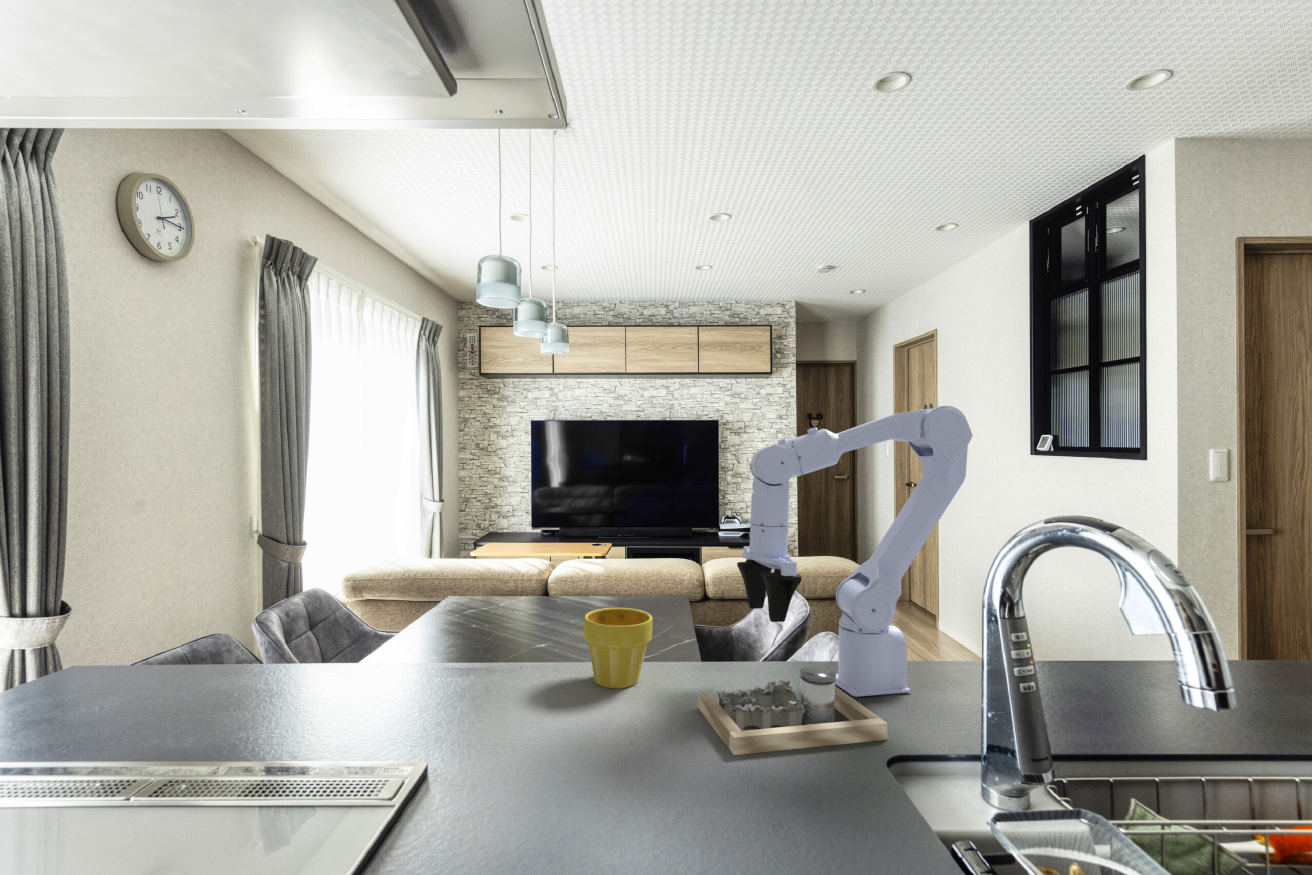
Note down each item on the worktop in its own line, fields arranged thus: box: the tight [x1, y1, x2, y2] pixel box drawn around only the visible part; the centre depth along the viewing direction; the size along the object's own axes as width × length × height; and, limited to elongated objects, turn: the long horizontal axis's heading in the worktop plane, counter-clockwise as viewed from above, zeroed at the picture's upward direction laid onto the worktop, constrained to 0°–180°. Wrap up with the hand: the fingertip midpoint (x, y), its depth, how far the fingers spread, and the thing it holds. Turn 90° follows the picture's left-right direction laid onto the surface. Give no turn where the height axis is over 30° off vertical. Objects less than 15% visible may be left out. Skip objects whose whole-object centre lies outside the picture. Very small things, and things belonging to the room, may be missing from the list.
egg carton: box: [716, 680, 805, 731], centre depth 82 cm, size 11×8×4 cm
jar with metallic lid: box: [799, 666, 837, 725], centre depth 82 cm, size 5×5×6 cm
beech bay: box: [697, 685, 889, 756], centre depth 81 cm, size 20×14×2 cm
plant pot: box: [583, 607, 654, 689], centre depth 95 cm, size 10×10×10 cm
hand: (766, 614), depth 95 cm, fingers open, 7 cm apart
